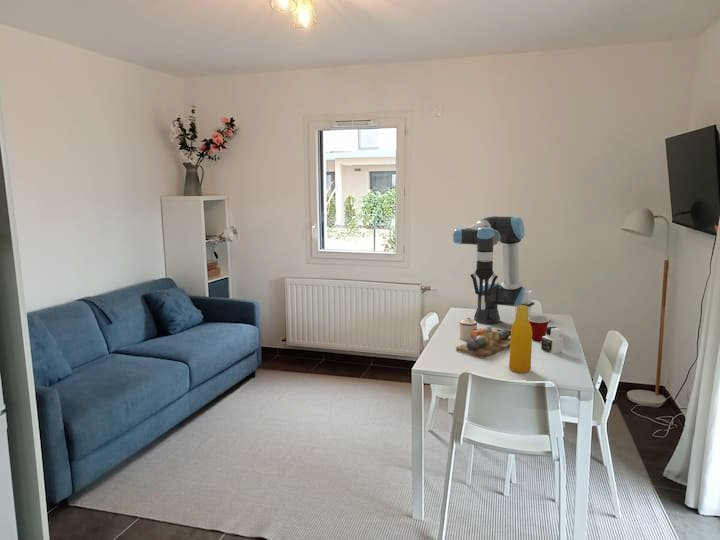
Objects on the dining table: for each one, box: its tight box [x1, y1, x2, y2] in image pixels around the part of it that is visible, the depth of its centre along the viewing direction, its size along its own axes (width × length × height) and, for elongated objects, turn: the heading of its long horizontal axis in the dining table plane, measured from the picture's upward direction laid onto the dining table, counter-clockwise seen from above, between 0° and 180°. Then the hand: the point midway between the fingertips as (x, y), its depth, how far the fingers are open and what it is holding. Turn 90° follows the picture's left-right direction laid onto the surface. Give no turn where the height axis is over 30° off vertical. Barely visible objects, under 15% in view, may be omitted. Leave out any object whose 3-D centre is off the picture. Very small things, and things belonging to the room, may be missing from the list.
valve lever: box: [472, 326, 493, 337], centre depth 271 cm, size 14×3×2 cm, turn 133°
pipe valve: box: [455, 328, 511, 359], centre depth 276 cm, size 32×16×9 cm, turn 134°
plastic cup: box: [528, 315, 550, 343], centre depth 287 cm, size 11×11×12 cm
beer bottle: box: [508, 305, 533, 374], centre depth 242 cm, size 9×9×29 cm
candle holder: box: [514, 290, 535, 318], centre depth 338 cm, size 25×24×16 cm
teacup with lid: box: [459, 316, 478, 342], centre depth 292 cm, size 12×9×12 cm
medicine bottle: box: [540, 326, 564, 355], centre depth 269 cm, size 7×7×12 cm
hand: (483, 308), depth 265 cm, fingers closed
